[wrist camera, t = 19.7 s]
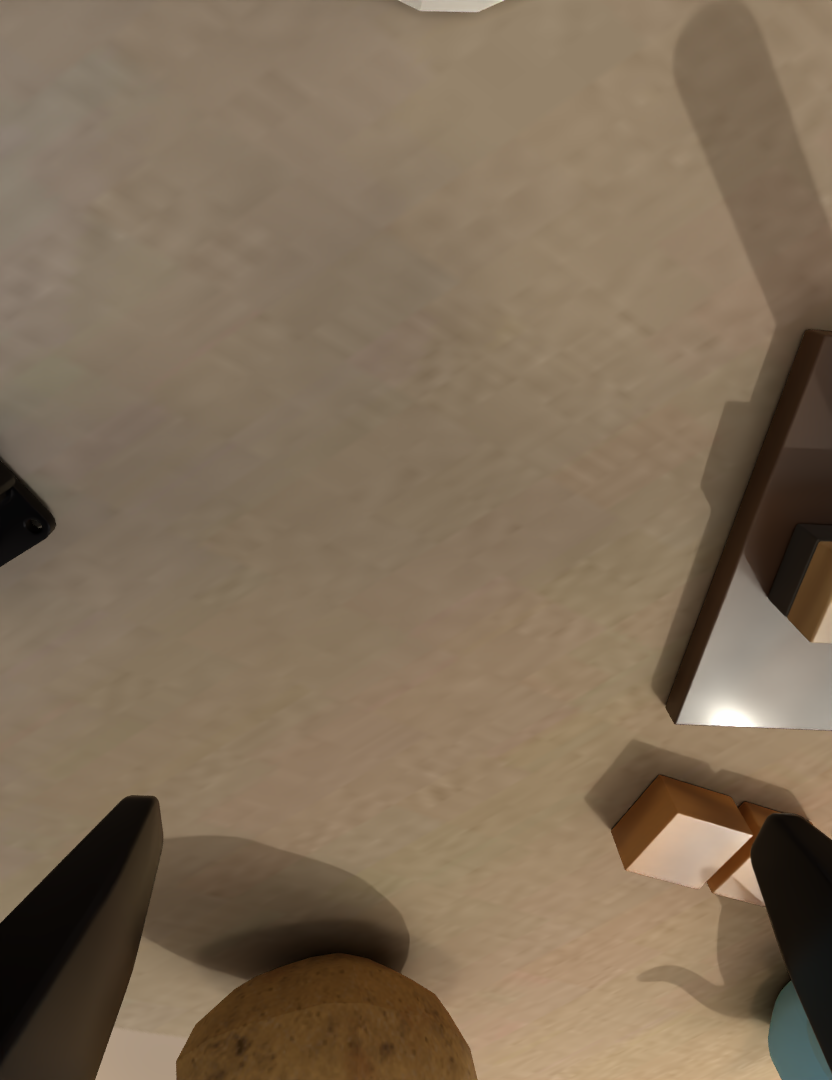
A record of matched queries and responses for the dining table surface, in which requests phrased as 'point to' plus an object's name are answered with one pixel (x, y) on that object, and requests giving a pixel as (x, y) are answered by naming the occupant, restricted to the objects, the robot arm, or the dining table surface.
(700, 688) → the shelf board
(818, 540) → the brush
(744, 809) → the wooden square block
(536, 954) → the dining table surface
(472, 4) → the bottle
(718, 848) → the brown wooden square block
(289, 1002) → the potato
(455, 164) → the dining table surface
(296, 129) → the dining table surface
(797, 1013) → the teapot
